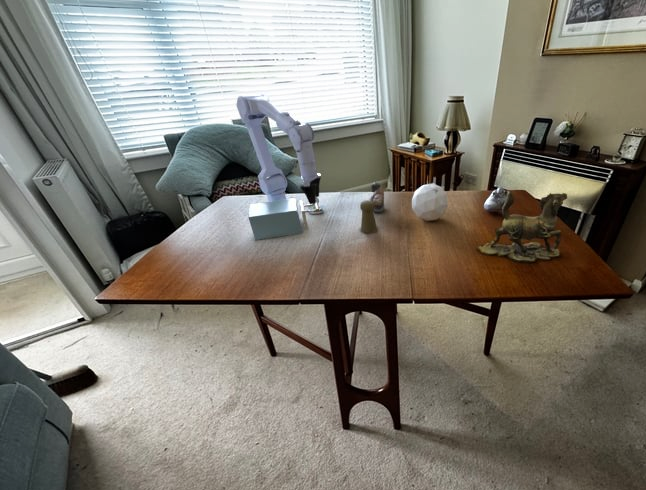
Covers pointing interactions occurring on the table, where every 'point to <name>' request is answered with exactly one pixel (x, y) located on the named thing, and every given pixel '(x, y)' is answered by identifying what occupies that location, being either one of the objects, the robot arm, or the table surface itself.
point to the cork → (368, 217)
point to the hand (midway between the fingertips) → (314, 200)
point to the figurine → (528, 232)
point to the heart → (496, 200)
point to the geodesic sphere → (429, 202)
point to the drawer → (306, 211)
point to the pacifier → (314, 208)
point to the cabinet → (274, 219)
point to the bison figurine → (377, 197)
